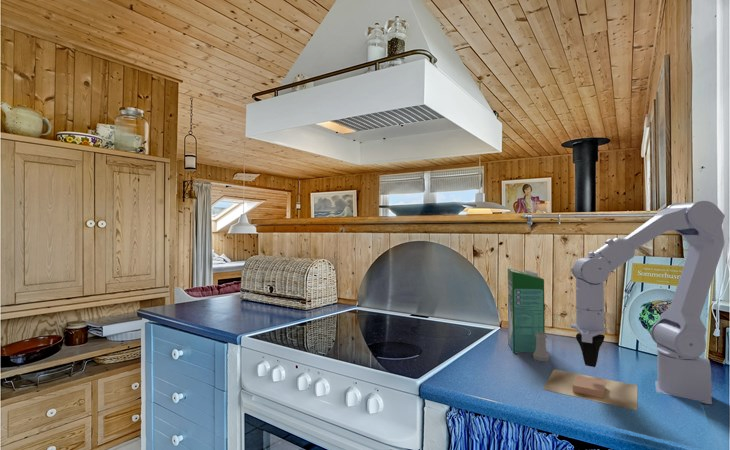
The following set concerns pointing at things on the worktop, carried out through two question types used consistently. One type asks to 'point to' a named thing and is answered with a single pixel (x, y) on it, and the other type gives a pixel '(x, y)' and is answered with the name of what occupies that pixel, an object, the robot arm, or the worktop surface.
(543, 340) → the rook chess piece
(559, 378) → the wooden board
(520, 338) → the milk carton
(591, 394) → the tile
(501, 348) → the worktop surface
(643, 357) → the worktop surface
